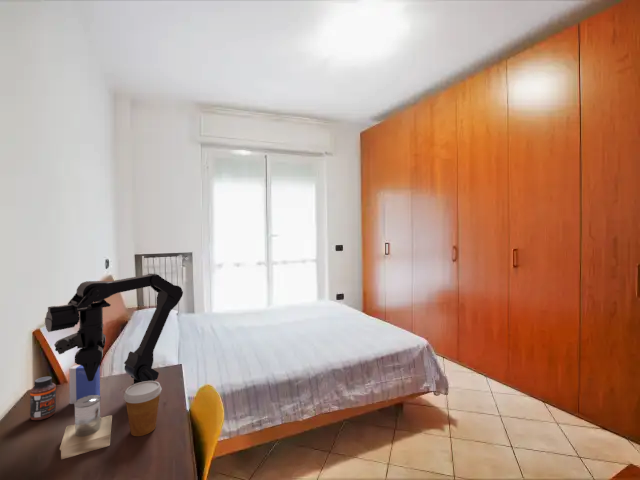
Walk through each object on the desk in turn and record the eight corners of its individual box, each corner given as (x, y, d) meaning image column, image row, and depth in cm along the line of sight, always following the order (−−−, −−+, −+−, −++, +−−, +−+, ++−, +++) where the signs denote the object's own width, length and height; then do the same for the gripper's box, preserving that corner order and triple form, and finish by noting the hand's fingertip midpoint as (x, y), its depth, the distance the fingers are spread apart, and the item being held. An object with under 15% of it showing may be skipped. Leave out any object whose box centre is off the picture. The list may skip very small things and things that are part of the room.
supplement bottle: (40, 422, 94) (40, 384, 94) (24, 420, 95) (24, 382, 95) (61, 411, 100) (60, 375, 100) (45, 409, 101) (45, 374, 101)
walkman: (100, 397, 108) (99, 362, 108) (95, 402, 105) (95, 366, 105) (74, 399, 107) (73, 364, 107) (69, 404, 104) (68, 367, 104)
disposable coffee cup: (115, 435, 88) (115, 392, 88) (145, 417, 97) (145, 377, 97) (140, 443, 84) (140, 399, 84) (169, 423, 93) (169, 383, 93)
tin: (76, 428, 86) (75, 398, 86) (101, 421, 89) (101, 392, 89) (73, 439, 81) (72, 408, 81) (100, 432, 84) (99, 402, 84)
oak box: (112, 425, 93) (112, 415, 92) (110, 445, 84) (110, 434, 84) (66, 437, 87) (66, 426, 87) (60, 460, 78) (59, 448, 78)
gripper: (62, 320, 100) (63, 369, 100) (50, 336, 84) (51, 395, 84) (105, 315, 106) (106, 362, 106) (101, 330, 90) (102, 385, 90)
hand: (92, 374), depth 96 cm, fingers open, 9 cm apart
